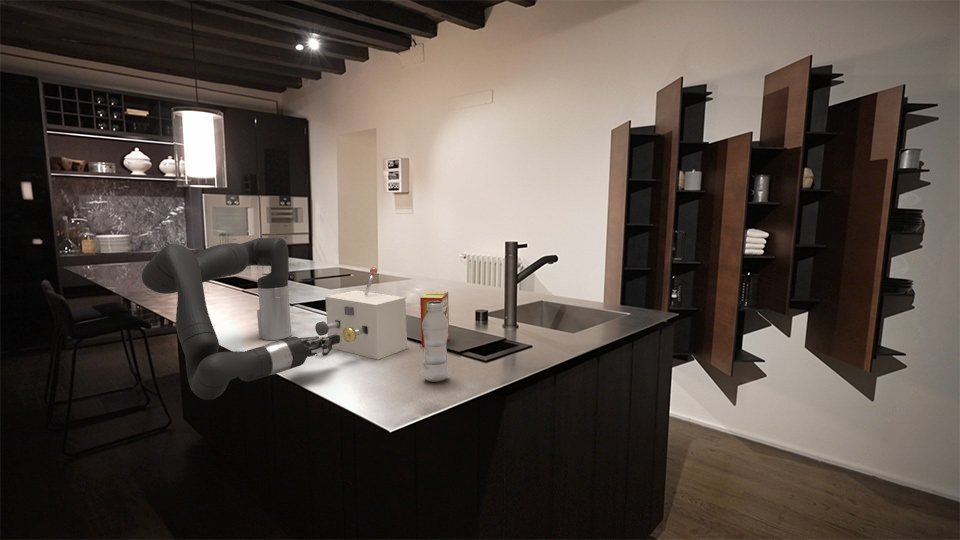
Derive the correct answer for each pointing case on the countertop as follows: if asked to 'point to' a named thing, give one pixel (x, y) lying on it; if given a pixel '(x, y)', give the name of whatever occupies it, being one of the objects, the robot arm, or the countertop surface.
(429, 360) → the plastic bottle
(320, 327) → the black plunger
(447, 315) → the baking soda box
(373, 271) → the toggle lever
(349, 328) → the brass plunger
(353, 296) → the console
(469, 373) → the countertop surface
